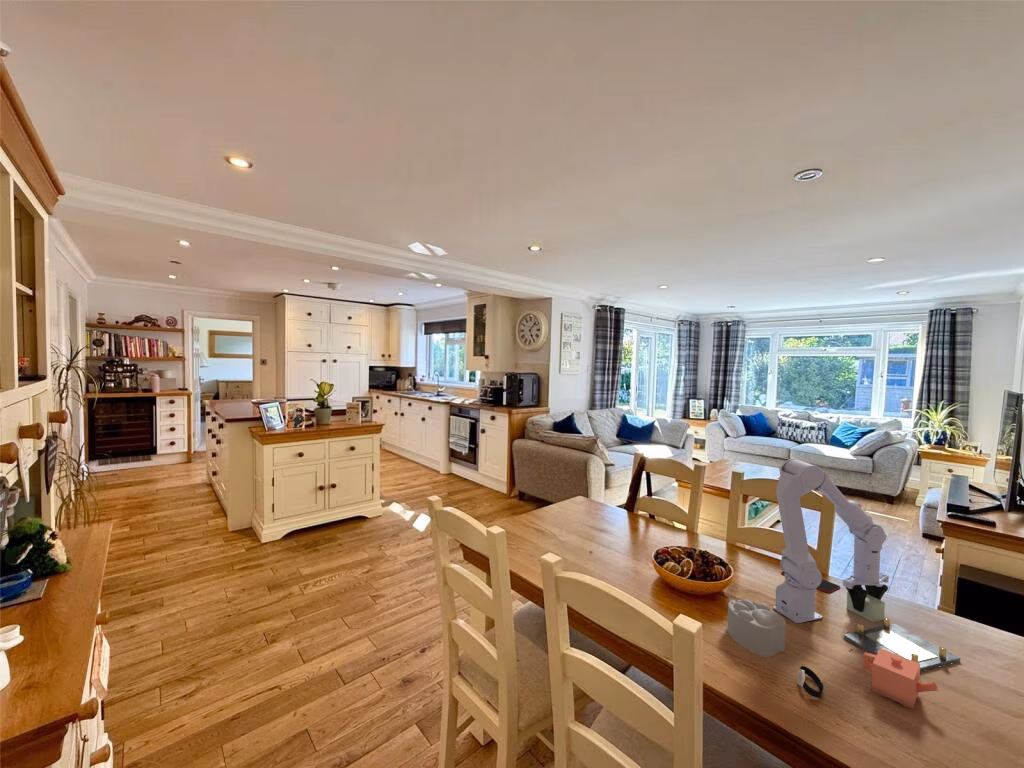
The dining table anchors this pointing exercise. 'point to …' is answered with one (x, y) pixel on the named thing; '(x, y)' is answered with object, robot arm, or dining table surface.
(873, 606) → the board block
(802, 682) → the watch
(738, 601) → the lumpy-topped squat cylinder
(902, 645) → the chassis
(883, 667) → the pink cube teapot
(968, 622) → the dining table surface
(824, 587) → the smartphone
